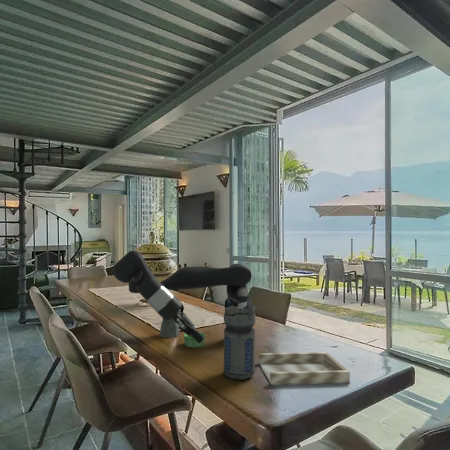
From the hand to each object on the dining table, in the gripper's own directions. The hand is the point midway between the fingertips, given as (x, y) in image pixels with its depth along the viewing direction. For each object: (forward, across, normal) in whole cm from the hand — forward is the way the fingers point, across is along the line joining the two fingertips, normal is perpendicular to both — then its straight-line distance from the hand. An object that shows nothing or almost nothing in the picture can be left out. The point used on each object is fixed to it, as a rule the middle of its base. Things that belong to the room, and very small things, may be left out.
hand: (201, 340), depth 113 cm
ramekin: (+7, -32, -9) cm, 34 cm away
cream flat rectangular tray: (+32, 0, +16) cm, 35 cm away
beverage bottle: (+16, 0, +1) cm, 17 cm away
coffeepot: (0, -45, -16) cm, 48 cm away
